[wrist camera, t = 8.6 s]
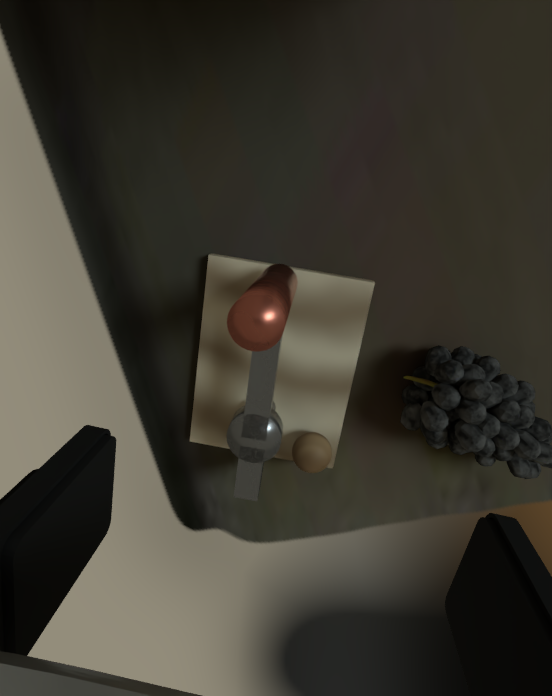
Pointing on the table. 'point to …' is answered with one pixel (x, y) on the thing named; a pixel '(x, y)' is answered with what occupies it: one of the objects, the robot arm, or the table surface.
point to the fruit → (477, 411)
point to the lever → (259, 373)
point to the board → (281, 353)
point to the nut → (311, 452)
